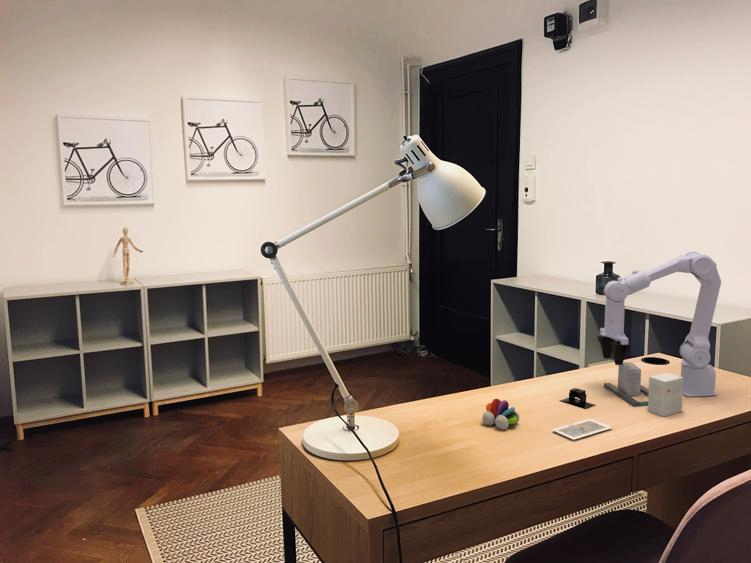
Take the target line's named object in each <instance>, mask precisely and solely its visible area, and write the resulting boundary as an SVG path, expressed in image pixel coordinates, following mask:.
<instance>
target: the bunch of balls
mask: <svg viewBox="0 0 751 563" xmlns="http://www.w3.org/2000/svg"><path fill="white" fill-rule="evenodd" d="M509 405H510V403H509V402H508V400H506V399H503V400H502V401H501V400H500V399H499V398H493V399H492V401H491V402H489V403H487V404H486V405H485V409H486V411H484V413H483V414H482V423H484V424H485V425H486V426H494V425H495V426H496V427H497V428H498V429H499V430H507V429H508V428H509V425H515V424H517V423H519V421H520V414H519V412H518V411H516V408H515V407H513V406H511V407H509Z"/></svg>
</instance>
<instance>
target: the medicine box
mask: <svg viewBox="0 0 751 563" xmlns="http://www.w3.org/2000/svg"><path fill="white" fill-rule="evenodd" d="M617 374H618V375H617V388H618V389H620V390H621V391H623V392H624V393H626V394H627V395H629V396H631V397H633V396H634V397H637V396H638V397H639V395H640V396H641V392H640V388H641V385H642V384H641V382H642V369H641V367H639V366H638V365H636V364H635V363H633V362H630V361H629V362H627V361H625V362H624V361H623V364H622V365H618V373H617Z"/></svg>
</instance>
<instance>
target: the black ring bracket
mask: <svg viewBox="0 0 751 563" xmlns="http://www.w3.org/2000/svg"><path fill="white" fill-rule="evenodd" d="M586 392H587V391H586V390H584V389H581V388H577V387H575V388H571V389H569V392H568V397H566V398H563V399H560V400H559V402H561V403H563V404H567V405H570V406H574V407H576V408H580V409H582V410H588V409H590V408H593V407H596V406H597V404H595V403H591V402H588V401H587V393H586Z"/></svg>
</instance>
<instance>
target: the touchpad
mask: <svg viewBox="0 0 751 563" xmlns="http://www.w3.org/2000/svg"><path fill="white" fill-rule="evenodd" d="M612 428H614V427H612V426H610V425H608V424H605V423H603V422H599V421H597V420H595V419H592V418H587V419H584V420H581V421H577V422H574V423H571V424H566V425H563V426H559V427H557V428H553V429H551V431H553V432H555V433H558V434H559V435H562V436H564V437H567V438H569V439H571V440H577V439H581V438H583V437H587V436H590V435H594V434H598V433H601V432H604V431H606V430H610V429H612Z"/></svg>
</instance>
